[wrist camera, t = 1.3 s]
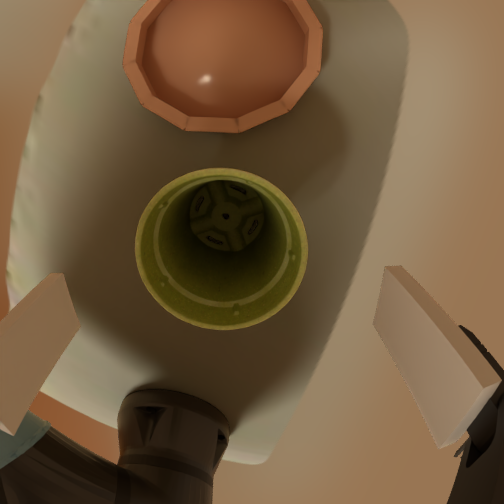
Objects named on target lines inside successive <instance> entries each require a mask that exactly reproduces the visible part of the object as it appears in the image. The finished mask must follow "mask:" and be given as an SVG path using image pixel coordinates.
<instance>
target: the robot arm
mask: <svg viewBox="0 0 504 504" xmlns="http://www.w3.org/2000/svg"><path fill="white" fill-rule="evenodd" d="M373 325H374V327H375V328H376V330H377V332H378V334H379V335H380V337H381V338H382V341H383V342H384V344H385V346H386V348H387V349H388V351H389V353H390V355H391V357H392V358H393V360H394V362H395V364H396V366H397V368H398V369H399V371H400V373H401V375H402V377H403V379H404V381H405V383H406V384H407V386H408V388H409V390H410V392H411V394H412V396H413V398H414V400H415V402H416V404H417V406H418V408H419V410H420V412H421V414H422V416H423V418H424V420H425V422H426V424H427V426H428V428H429V430H430V433H431V434H432V437H433V439H434V441H435V443H436V445H437V448H438V449H440V448H443V447H445V446H447V445H450V444H452V443H455V442H457V441H458V439H460V437H461V436H462V435H463V433H464V432H465V431H466V430H467V431H468V434H469V435H470V437H469V438H468V439H467V440H466V441H465V443H464V444H463V445H462V446H461V447H460V448H459V450H457V451H456V453H455V455H454V457H457V456H458V455H459V454H460V453H461V452H462V451H463V450H464V451H463V455H462V457H461V462H460V466H459V469H458V473H457V476H456V479H455V482H454V485H453V488H452V491H451V494H450V497H449V499H448V502H447V504H504V370H503V369H502V368H501V366H500V365H499V364H498V363H497V361H496V360H495V359H494V358H493V356H492V355H491V354H490V353H489V352H487V349H486V348H485V347H484V346H483V345H482V344H481V342H480V341H479V340H478V339H477V338H476V336H475V335H474V334H473V333H472V332H470V331H469V330H467V329H466V328H465V327H463V326H461V325H459V326H458V325H457V324H456V323H455V322H454V321H453V320H452V319H451V317H450V316H449V315H448V314H447V313H446V312H445V311H444V310H443V309H442V307H441V306H440V305H439V304H438V303H437V302H436V301H435V300H434V299H433V298H432V297H431V296H430V295H429V293H428V292H426V291H425V289H424V288H423V287H422V286H421V285H420V284H419V283H418V282H417V281H416V280H415V279H414V278H413V277H412V276H411V275H410V274H409V273H408V272H407V271H406V270H405V269H404V268H403V267H402V266H386V267H385V269H384V275H383V280H382V285H381V290H380V295H379V300H378V304H377V308H376V313H375V317H374V321H373ZM80 327H81V326H80V323H79V320H78V317H77V315H76V312H75V309H74V306H73V303H72V300H71V297H70V294H69V291H68V287H67V284H66V281H65V277H64V274H63V273H50V274H49V275H48V276H47V277H46V278H45V279H44V280H42V281H41V282H40V283H39V284H38V285H37V286H36V287H35V288H34V289H33V290H32V291H31V292H30V293H29V294H28V295H26V296H25V297H24V298H23V299H22V300H21V301H20V302H19V303H18V304H17V305H16V306H15V307H14V308H13V309H12V310H11V311H10V312H9V313H8V314H7V315H6V316H5V318H3V320H2V321H1V322H0V504H212V495H213V494H212V493H213V477H214V474H215V472H216V469H217V468H218V465H219V463H220V461H221V459H222V457H223V455H224V452H225V450H226V448H227V446H228V442H229V424H228V421H227V419H226V418H225V416H224V415H223V414H222V413H221V412H220V411H219V410H217V409H216V408H215V407H213V406H212V405H210V404H208V403H206V402H204V401H202V400H200V399H198V398H195V397H192V396H189V395H186V394H183V393H178V392H174V391H167V390H142V391H138V392H135V393H132V394H130V395H128V396H127V397H126V398H125V399H124V400H123V402H122V404H121V407H120V410H119V413H118V418H117V424H118V438H119V450H120V456H119V460H118V464H117V465H116V464H114V463H112V462H110V461H109V460H106V459H105V458H103V457H101V456H99V455H97V454H95V453H94V452H92V451H90V450H88V449H87V448H85V447H83V446H81V445H80V444H78V443H76V442H75V441H73V440H71V439H70V438H68V437H67V436H65V435H64V434H62V433H61V432H59V431H58V430H56V429H55V428H53V427H52V426H51V424H50V423H49V422H48V421H44V420H42V419H41V418H39V417H38V416H36V415H35V414H33V413H32V412H30V411H29V410H28V409H29V407H30V405H31V403H32V402H33V400H34V398H35V396H36V395H37V393H38V392H39V390H40V388H41V387H42V385H43V383H44V382H45V380H46V378H47V377H48V375H49V374H50V372H51V370H52V369H53V367H54V366H55V364H56V362H57V361H58V359H59V358H60V356H61V355H62V353H63V352H64V350H65V349H66V347H67V346H68V344H69V343H70V341H71V340H72V338H73V337H74V335H75V334H76V333H77V331H78V330H79V328H80Z"/></svg>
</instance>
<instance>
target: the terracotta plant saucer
mask: <svg viewBox="0 0 504 504" xmlns="http://www.w3.org/2000/svg"><path fill="white" fill-rule="evenodd" d="M130 22H131V23H129V28H128V33H127V39H126V45H125V51H124V57H123V64H122V65H124V66H123V68H124V70H125V72H126V75H127V77H128V79H129V81H130V83H131V85H132V87H133V89H134V91H135V93H136V95H137V97H138V99H139V101H140V103H141V105H143V107H145V108H147V109H148V110H150V111H152V112H154V113H155V114H157V115H159V116H160V117H162V118H164V119H165V120H167V121H169V122H170V123H172V124H174V125H175V126H177V127H179V128H180V129H182V130H185V131H200V132H223V133H239V131H240V133H242V132H244V131H246V130H248V129H251V128H253V127H255V126H257V125H260V124H262V123H264V122H266V121H269V120H271V119H274V118H276V117H278V116H281V115H283V114H286V113H288V112H289V111H290V110H291V109H292V108H293V107H294V105H295V104H296V103H297V101H298V100H299V99H300V97H301V96H302V95H303V94H304V92H305V91H306V90H307V88H308V87H309V86H310V85H311V83H312V82H313V81H314V80H315V78H316V77H317V76H318V75H319V72H320V69H321V54H322V38H323V29H322V25H321V24H320V22H319V20H318V19H317V17H316V15H315V14H314V12H313V10H312V9H311V7H310V6H309V4H308V2H307V1H306V0H147V2H146V3H145V4H144V5H143V6H142V8H141V9H140V10H139V11H138V12H137V14H136V15H135V16H134V17H133V19H132V20H131V21H130Z"/></svg>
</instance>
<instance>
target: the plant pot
mask: <svg viewBox="0 0 504 504" xmlns="http://www.w3.org/2000/svg"><path fill="white" fill-rule="evenodd" d="M231 185H236V186H239V187H241V188H243V189H245V191H246V194H244V193H242V192H240V191H238V190H235V189H233V188H230V186H231ZM201 196H203V197H204V200H203V202H202V203H201V205H200V208H199V211H198V212H196V204H197V201H198V200H199V198H200V197H201ZM225 213H227V214H228V215H229V219H224V218H223V214H225ZM255 219H256V220H257V226H256V228H255V230H254V231H253V233H251V234H248V231H249V229H250V228H251V226H252V224H253V221H254V220H255ZM208 236H211V237H212V238H214V239H216V240H219V241H222V242H223V244H221V245H219V244H217V243H213V242H211V241H209V240H208V239H207V237H208ZM135 256H136V262H137V267H138V271H139V273H140V276H141V279H142V281H143V283H144V285H145V286H146V288H147V290H148V291H149V293H150V294H151V295H152V296H153V298H154V299H155V300H156V301H157V302H158V303H159V304H160V305H161V306H162V307H163V308H164V309H165V310H167V311H168V312H169V313H171V314H172V315H173V316H175V317H177V318H179V319H180V320H183V321H185V322H187V323H190V324H192V325H195V326H198V327H202V328H208V329H214V330H233V329H240V328H246V327H249V326H253V325H255V324H258V323H260V322H262V321H264V320H266V319H268V318H270V317H271V316H273V315H275V314H276V313H277V312H278V311H280V310H281V309H282V308H283V307H284V306H285V305H286V304H287V303H288V302H289V301H290V300H291V298H292V297H293V295H294V294H295V293H296V291H297V289H298V287H299V286H300V284H301V282H302V279H303V276H304V274H305V271H306V266H307V259H308V241H307V235H306V231H305V227H304V224H303V221H302V219H301V216H300V214H299V213H298V211H297V209H296V207H295V206H294V205H293V203H292V202H291V201H290V199H289V198H288V197H287V196H286V195H285V194H284V193H283V192H282V191H281V190H280V189H279V188H277V187H276V186H275V185H273V184H272V183H270V182H269V181H267V180H266V179H264V178H262V177H260V176H258V175H255V174H253V173H250V172H247V171H243V170H239V169H233V168H207V169H201V170H197V171H193V172H190V173H187V174H185V175H183V176H180V177H178V178H176V179H175V180H173V181H171V182H170V183H168V184H167V185H165V186H164V187H163V188H162V189H160V190H159V191H158V192H157V193H156V195H155V196H154V197H153V198H152V199H151V200H150V202H149V203H148V205H147V206H146V208H145V210H144V212H143V213H142V216H141V218H140V220H139V223H138V227H137V231H136V236H135Z"/></svg>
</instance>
